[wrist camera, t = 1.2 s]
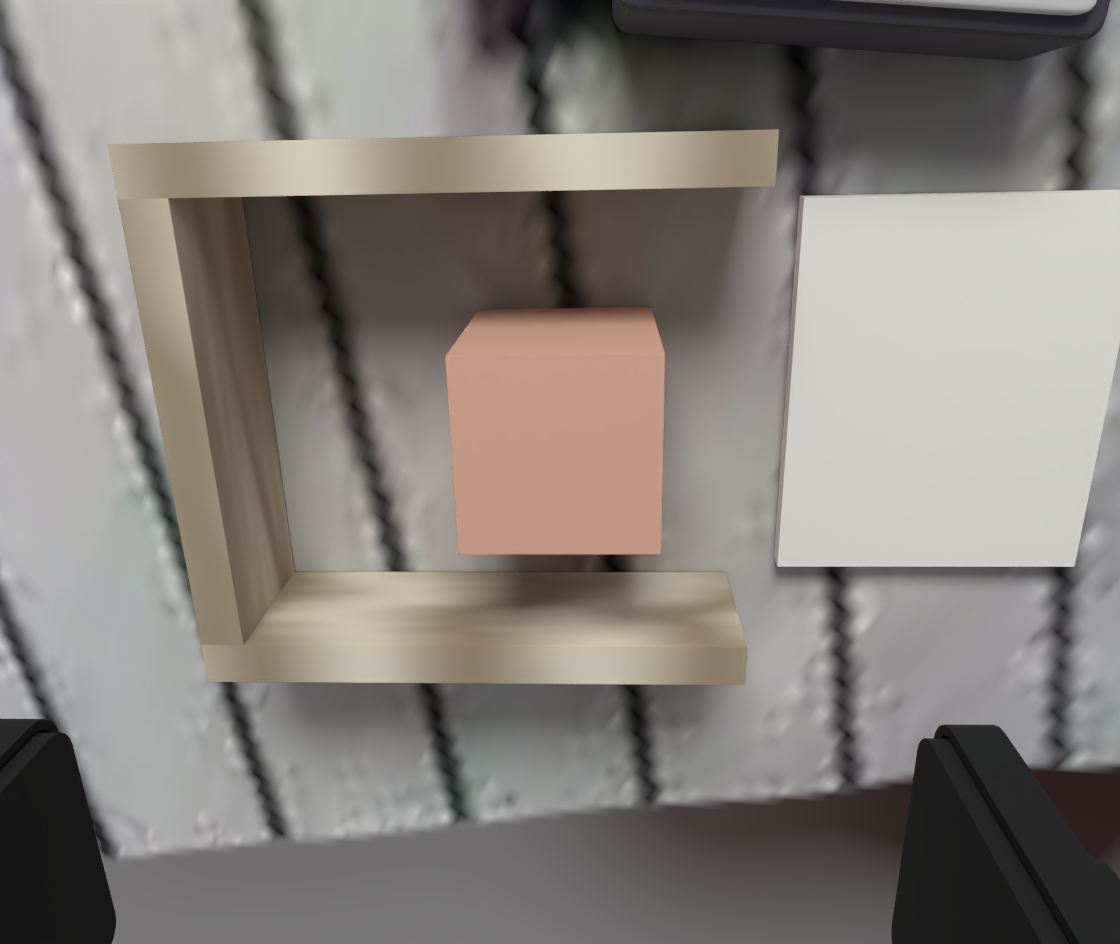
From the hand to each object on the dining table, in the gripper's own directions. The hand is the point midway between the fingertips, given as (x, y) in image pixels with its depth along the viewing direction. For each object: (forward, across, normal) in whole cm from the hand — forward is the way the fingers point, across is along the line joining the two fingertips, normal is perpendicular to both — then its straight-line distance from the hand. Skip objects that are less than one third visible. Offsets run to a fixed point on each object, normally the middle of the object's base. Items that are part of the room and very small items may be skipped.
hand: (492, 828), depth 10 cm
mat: (+18, -11, 0) cm, 21 cm away
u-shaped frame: (+18, +2, 0) cm, 18 cm away
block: (+18, 0, 0) cm, 18 cm away
